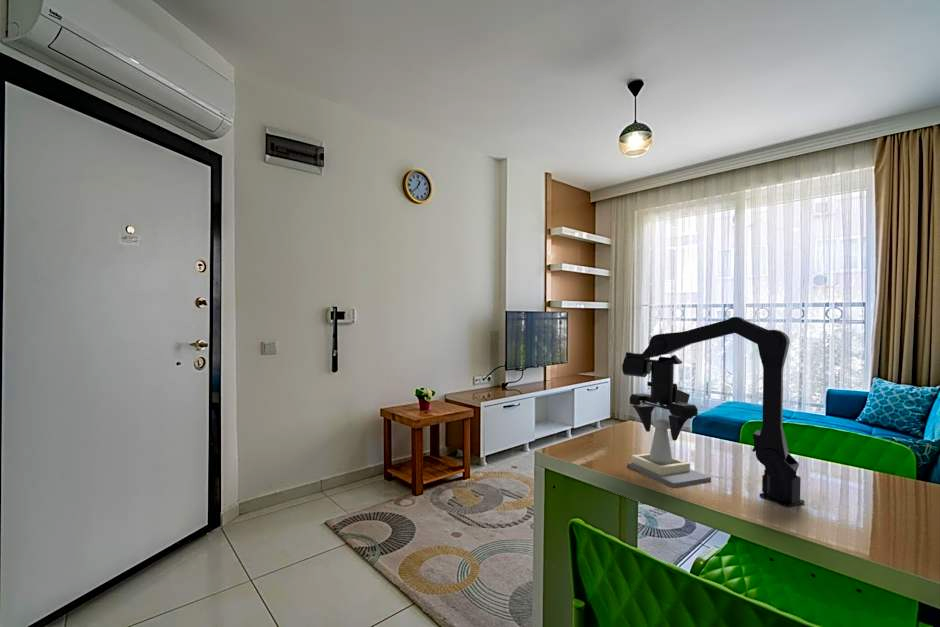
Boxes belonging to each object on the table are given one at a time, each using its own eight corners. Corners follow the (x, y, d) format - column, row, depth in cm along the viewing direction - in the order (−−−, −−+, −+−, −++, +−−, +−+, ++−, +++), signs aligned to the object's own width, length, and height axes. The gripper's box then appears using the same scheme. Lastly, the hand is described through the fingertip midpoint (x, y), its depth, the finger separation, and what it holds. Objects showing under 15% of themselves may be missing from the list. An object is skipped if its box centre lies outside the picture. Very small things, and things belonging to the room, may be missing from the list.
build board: (710, 481, 111) (711, 469, 111) (673, 487, 106) (674, 475, 106) (661, 461, 126) (661, 451, 126) (627, 466, 121) (627, 455, 121)
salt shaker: (675, 470, 115) (677, 422, 115) (654, 470, 115) (655, 421, 115) (666, 463, 121) (667, 417, 121) (645, 462, 121) (646, 416, 121)
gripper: (713, 383, 113) (711, 442, 113) (657, 374, 130) (656, 425, 130) (682, 384, 109) (680, 446, 109) (628, 375, 126) (627, 428, 126)
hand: (660, 435), depth 118 cm, fingers open, 9 cm apart
